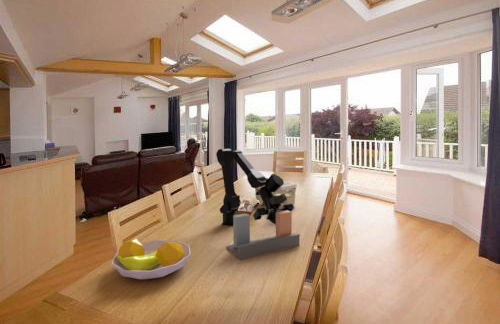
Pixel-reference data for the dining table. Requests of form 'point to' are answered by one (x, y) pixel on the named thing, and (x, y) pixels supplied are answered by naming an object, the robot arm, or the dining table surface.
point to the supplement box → (286, 200)
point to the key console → (265, 246)
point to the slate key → (241, 229)
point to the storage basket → (282, 191)
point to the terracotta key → (283, 223)
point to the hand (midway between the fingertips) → (281, 228)
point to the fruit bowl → (150, 258)
